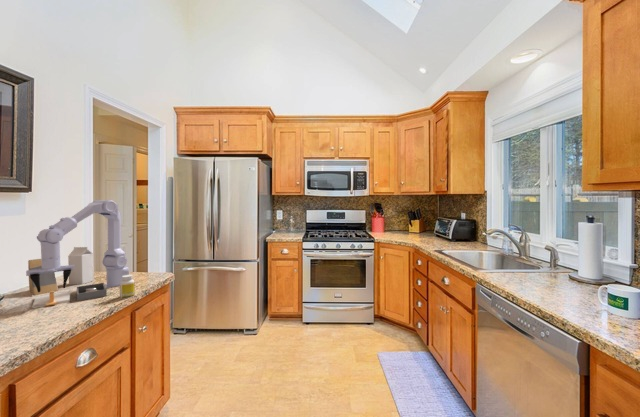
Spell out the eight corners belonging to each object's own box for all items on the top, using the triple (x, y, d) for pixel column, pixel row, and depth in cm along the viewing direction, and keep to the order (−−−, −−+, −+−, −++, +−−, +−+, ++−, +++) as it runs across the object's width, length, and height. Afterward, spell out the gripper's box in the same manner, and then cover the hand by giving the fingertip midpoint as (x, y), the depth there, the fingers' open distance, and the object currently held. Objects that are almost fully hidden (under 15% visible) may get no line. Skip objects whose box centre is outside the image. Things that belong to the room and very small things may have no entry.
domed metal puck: (96, 290, 135) (96, 286, 135) (96, 292, 132) (96, 288, 132) (85, 292, 133) (85, 288, 133) (85, 294, 129) (85, 290, 129)
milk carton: (82, 284, 146) (81, 248, 146) (68, 284, 146) (67, 248, 146) (93, 281, 153) (92, 246, 153) (80, 281, 153) (79, 246, 153)
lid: (70, 294, 132) (69, 283, 132) (69, 304, 119) (69, 292, 119) (36, 299, 124) (35, 288, 124) (31, 310, 111) (31, 298, 111)
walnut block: (97, 293, 130) (97, 289, 130) (97, 296, 127) (97, 291, 127) (85, 295, 127) (85, 291, 127) (86, 298, 124) (86, 293, 124)
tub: (104, 289, 138) (103, 282, 138) (106, 297, 127) (106, 289, 127) (76, 294, 131) (76, 286, 131) (77, 302, 121) (77, 294, 121)
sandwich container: (33, 297, 128) (33, 264, 127) (28, 290, 137) (27, 260, 137) (59, 292, 135) (58, 261, 134) (52, 286, 144) (51, 257, 144)
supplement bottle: (137, 296, 128) (136, 275, 128) (124, 300, 123) (124, 277, 123) (130, 294, 130) (129, 273, 130) (117, 298, 125) (116, 276, 125)
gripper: (24, 261, 111) (26, 295, 111) (73, 256, 120) (74, 288, 121) (26, 258, 116) (28, 291, 117) (73, 254, 126) (74, 284, 126)
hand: (52, 289), depth 119 cm, fingers open, 7 cm apart
